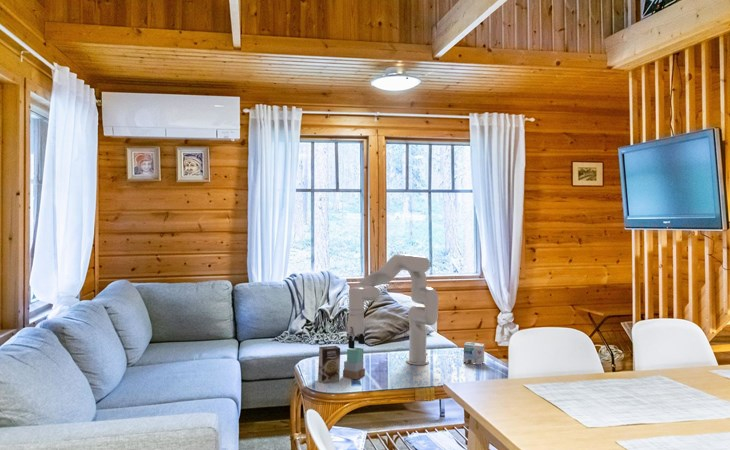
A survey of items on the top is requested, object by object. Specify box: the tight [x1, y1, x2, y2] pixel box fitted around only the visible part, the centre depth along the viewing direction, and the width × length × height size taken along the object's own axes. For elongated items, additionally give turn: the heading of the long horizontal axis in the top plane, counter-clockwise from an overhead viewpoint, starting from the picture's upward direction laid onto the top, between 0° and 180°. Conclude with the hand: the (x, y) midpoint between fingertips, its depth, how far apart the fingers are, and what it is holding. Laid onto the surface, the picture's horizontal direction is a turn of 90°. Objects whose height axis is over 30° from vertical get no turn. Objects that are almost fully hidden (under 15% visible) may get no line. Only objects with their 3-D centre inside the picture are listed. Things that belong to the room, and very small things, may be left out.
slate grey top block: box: [343, 360, 364, 372], centre depth 245 cm, size 7×7×4 cm
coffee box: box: [317, 345, 341, 384], centre depth 237 cm, size 9×6×16 cm
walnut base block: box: [342, 367, 366, 381], centre depth 245 cm, size 8×8×4 cm
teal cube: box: [346, 346, 364, 363], centre depth 245 cm, size 6×6×6 cm
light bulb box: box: [462, 341, 485, 365], centre depth 275 cm, size 11×7×11 cm, turn 68°
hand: (356, 346), depth 245 cm, fingers open, 9 cm apart
